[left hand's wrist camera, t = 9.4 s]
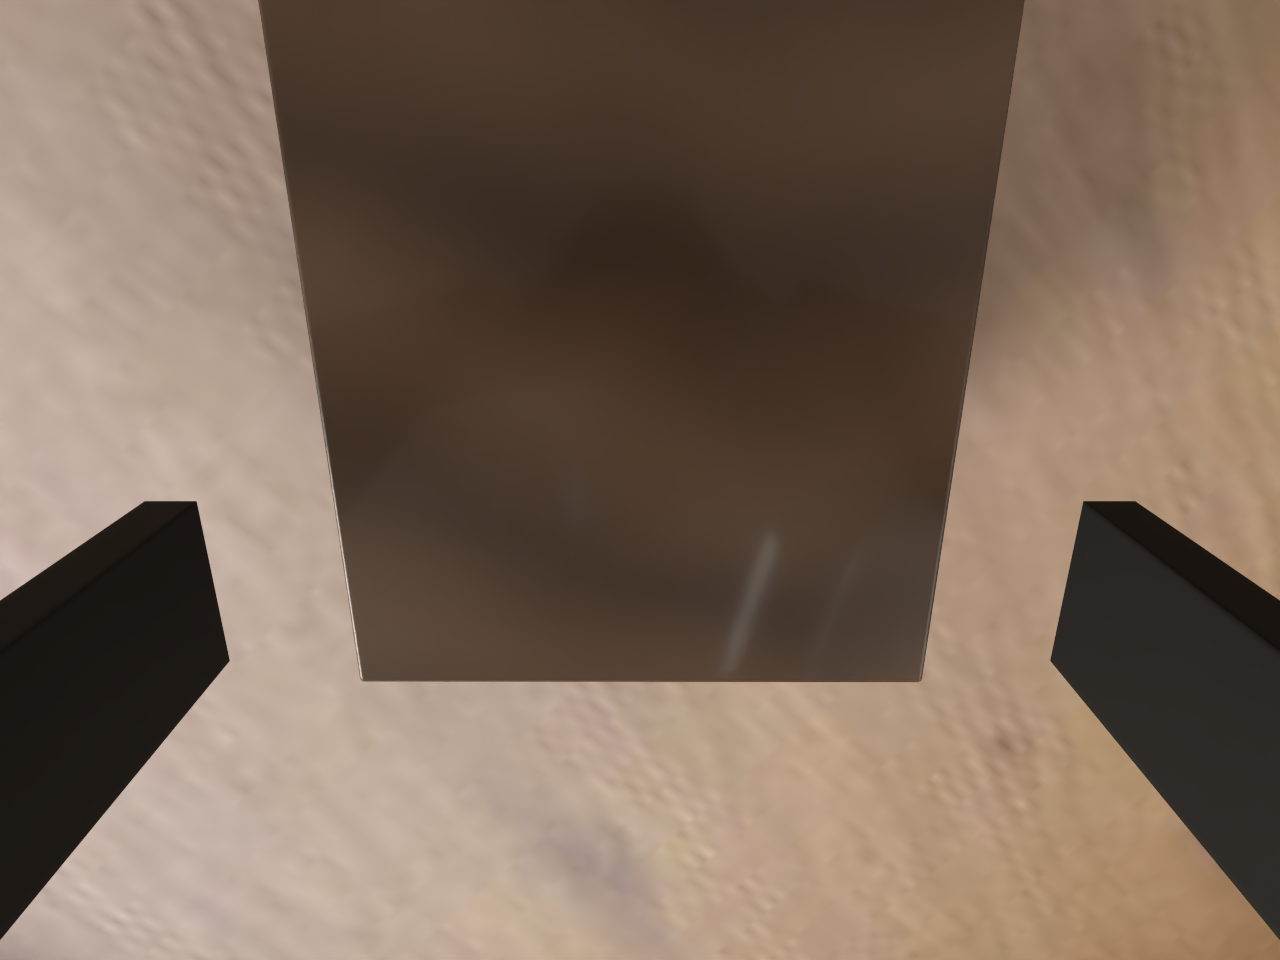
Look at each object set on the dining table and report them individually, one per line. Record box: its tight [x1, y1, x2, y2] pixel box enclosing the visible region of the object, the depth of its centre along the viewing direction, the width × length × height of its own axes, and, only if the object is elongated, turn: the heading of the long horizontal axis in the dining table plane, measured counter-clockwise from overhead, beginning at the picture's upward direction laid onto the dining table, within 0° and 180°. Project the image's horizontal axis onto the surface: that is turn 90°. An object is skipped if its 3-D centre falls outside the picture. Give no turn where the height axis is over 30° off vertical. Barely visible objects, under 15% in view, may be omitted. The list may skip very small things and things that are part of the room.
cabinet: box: [258, 0, 1024, 682], centre depth 17 cm, size 17×11×11 cm, turn 0°
